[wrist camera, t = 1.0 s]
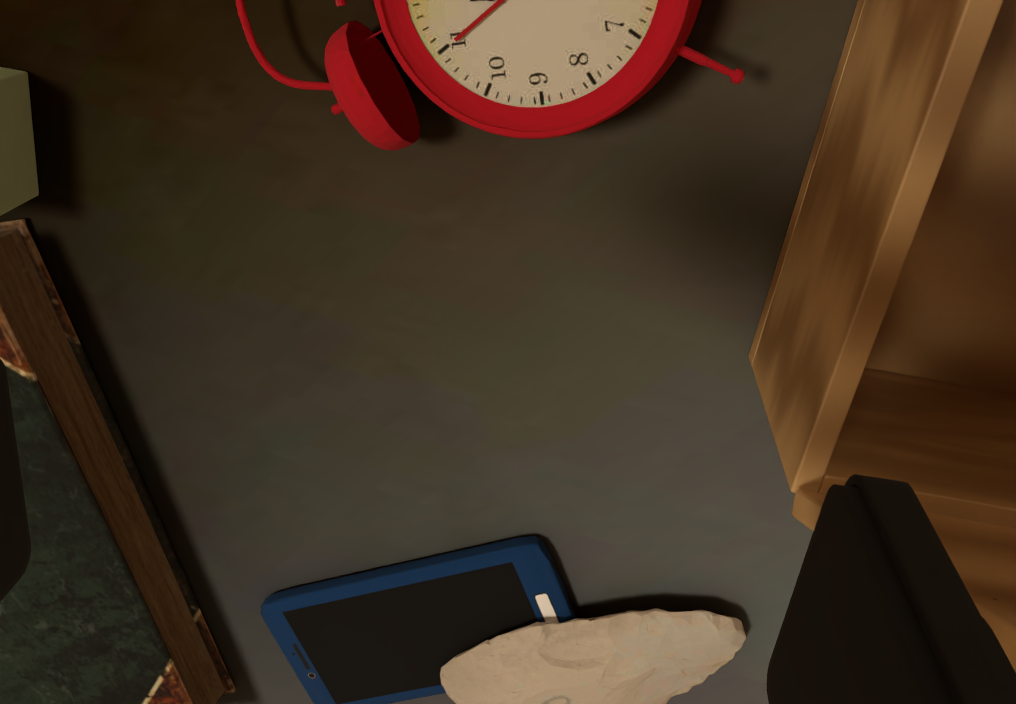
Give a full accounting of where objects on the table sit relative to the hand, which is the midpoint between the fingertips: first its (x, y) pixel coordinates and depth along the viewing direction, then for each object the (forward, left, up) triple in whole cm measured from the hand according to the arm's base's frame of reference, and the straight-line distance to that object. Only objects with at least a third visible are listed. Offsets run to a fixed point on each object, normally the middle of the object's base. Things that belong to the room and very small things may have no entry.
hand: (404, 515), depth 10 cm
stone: (+24, +7, -23) cm, 34 cm away
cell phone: (+24, -1, -23) cm, 34 cm away
